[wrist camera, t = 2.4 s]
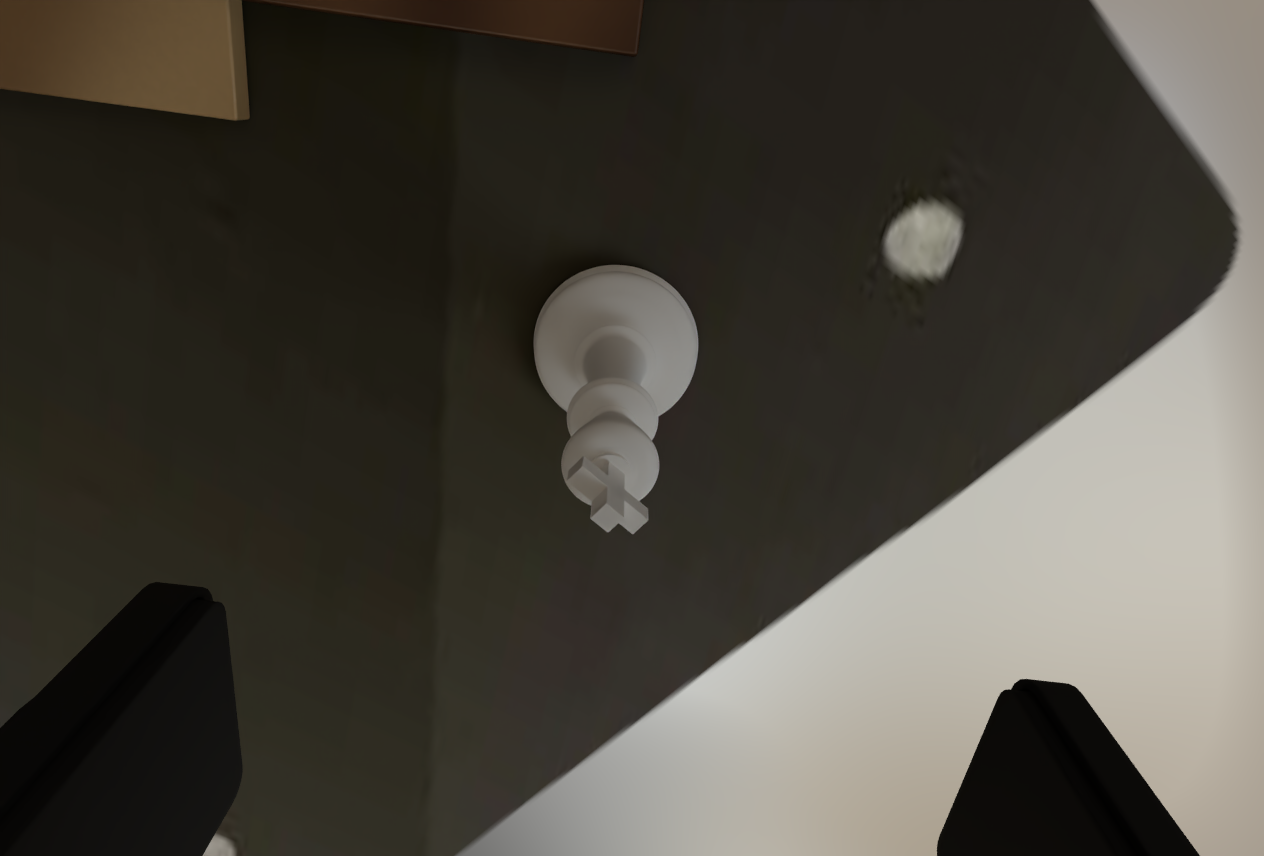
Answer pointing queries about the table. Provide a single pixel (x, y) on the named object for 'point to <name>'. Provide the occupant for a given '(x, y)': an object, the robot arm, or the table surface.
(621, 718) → the table surface
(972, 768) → the robot arm
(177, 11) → the spatula
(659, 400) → the chess piece
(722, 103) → the table surface
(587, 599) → the table surface
